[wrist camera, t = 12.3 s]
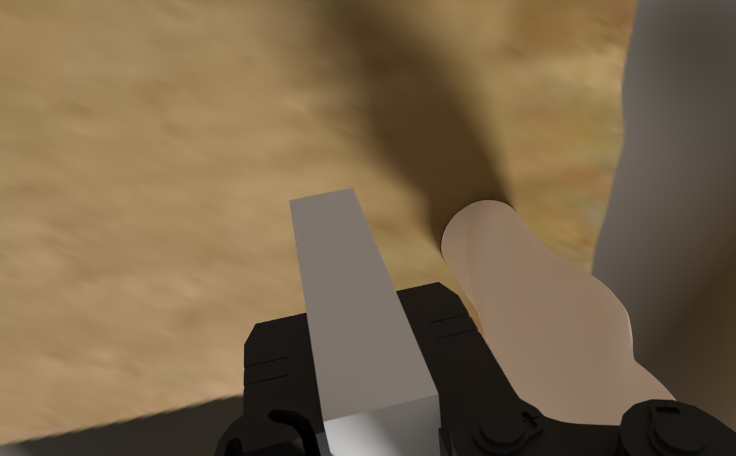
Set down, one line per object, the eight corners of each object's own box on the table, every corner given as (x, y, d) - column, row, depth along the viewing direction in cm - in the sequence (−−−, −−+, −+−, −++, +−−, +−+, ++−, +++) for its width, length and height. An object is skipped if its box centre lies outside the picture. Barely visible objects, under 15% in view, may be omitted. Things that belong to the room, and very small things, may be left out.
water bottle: (544, 260, 51) (808, 547, 27) (461, 304, 52) (646, 624, 28) (511, 175, 46) (801, 435, 22) (419, 225, 47) (602, 532, 22)
